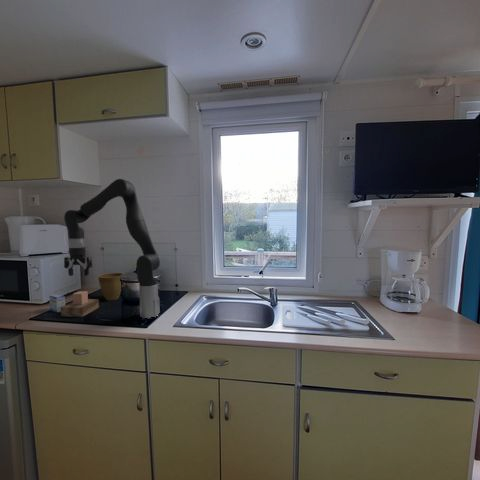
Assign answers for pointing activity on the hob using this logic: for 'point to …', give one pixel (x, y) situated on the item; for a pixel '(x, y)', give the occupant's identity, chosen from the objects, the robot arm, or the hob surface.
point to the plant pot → (110, 285)
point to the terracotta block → (80, 297)
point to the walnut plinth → (79, 308)
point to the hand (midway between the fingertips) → (78, 275)
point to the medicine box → (56, 302)
